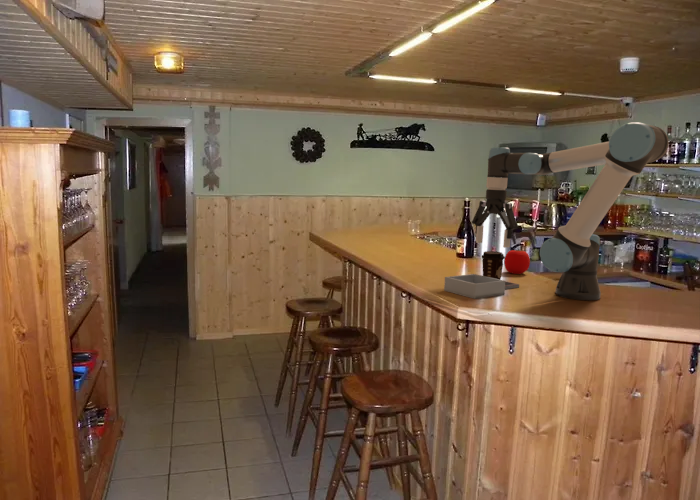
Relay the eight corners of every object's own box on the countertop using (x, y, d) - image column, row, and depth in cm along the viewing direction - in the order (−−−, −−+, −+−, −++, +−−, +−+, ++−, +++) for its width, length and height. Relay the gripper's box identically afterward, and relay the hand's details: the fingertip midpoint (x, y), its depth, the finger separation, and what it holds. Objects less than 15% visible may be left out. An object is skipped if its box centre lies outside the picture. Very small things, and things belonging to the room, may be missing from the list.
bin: (504, 294, 194) (505, 280, 194) (474, 298, 186) (475, 284, 185) (473, 286, 207) (473, 273, 206) (444, 290, 198) (444, 277, 198)
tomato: (498, 271, 242) (500, 247, 240) (517, 270, 246) (519, 247, 245) (514, 276, 232) (516, 251, 231) (533, 275, 236) (535, 250, 235)
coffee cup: (501, 283, 214) (503, 251, 212) (505, 288, 206) (507, 254, 204) (478, 282, 215) (480, 250, 213) (481, 287, 207) (483, 253, 205)
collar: (519, 287, 208) (519, 284, 208) (492, 291, 199) (492, 287, 199) (489, 280, 220) (489, 277, 220) (462, 283, 212) (462, 280, 212)
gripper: (530, 190, 197) (525, 248, 200) (478, 187, 217) (474, 240, 220) (516, 190, 193) (512, 249, 196) (465, 187, 213) (461, 241, 216)
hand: (492, 245), depth 208 cm, fingers open, 13 cm apart
